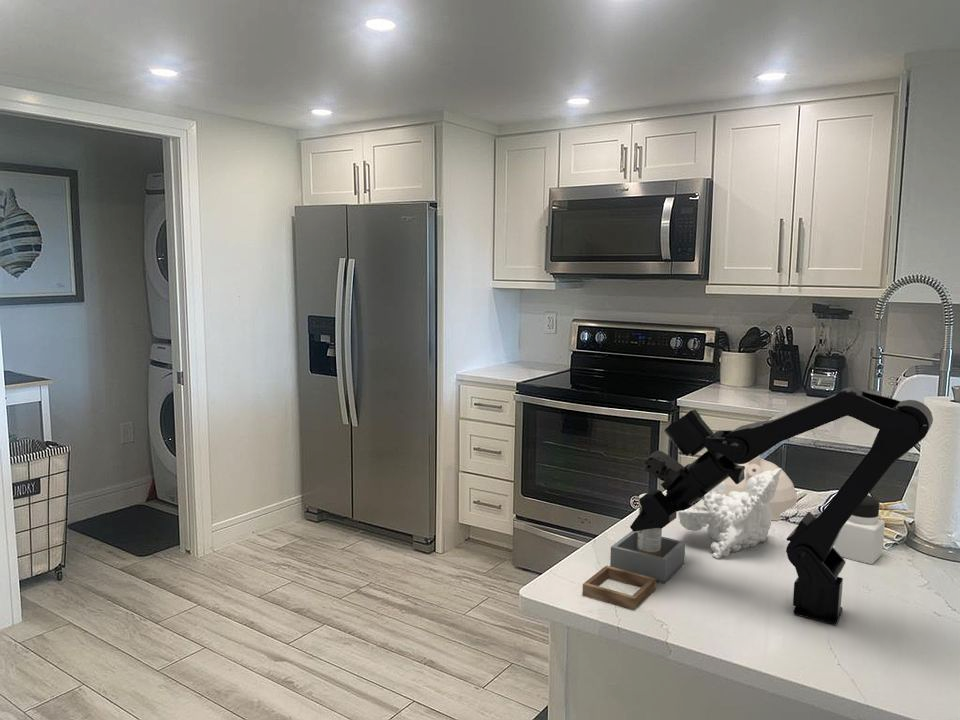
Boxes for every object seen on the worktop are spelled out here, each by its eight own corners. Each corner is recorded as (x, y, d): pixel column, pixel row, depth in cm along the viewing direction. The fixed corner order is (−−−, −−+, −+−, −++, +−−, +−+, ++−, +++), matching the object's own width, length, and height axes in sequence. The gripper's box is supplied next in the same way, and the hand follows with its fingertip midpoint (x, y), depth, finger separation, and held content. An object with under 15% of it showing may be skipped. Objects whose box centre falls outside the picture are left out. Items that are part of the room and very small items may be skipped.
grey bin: (684, 564, 139) (685, 541, 138) (664, 584, 130) (665, 560, 129) (632, 551, 144) (633, 530, 144) (610, 569, 136) (610, 546, 135)
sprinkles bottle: (638, 558, 140) (640, 491, 138) (662, 561, 138) (665, 493, 137) (634, 567, 136) (637, 498, 134) (659, 571, 134) (662, 501, 132)
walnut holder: (655, 589, 128) (656, 578, 128) (634, 610, 120) (634, 598, 120) (605, 575, 133) (606, 565, 133) (582, 594, 125) (582, 584, 125)
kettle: (704, 515, 166) (708, 438, 164) (709, 489, 186) (713, 420, 183) (800, 527, 159) (805, 447, 157) (795, 499, 178) (800, 427, 176)
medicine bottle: (882, 554, 144) (887, 496, 142) (872, 565, 139) (877, 505, 137) (844, 545, 149) (848, 488, 147) (832, 555, 143) (837, 496, 142)
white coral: (789, 489, 156) (779, 459, 140) (782, 583, 149) (770, 562, 133) (700, 480, 165) (681, 451, 150) (690, 568, 158) (668, 547, 142)
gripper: (691, 430, 139) (636, 476, 147) (652, 450, 124) (592, 499, 132) (730, 477, 135) (671, 521, 143) (694, 503, 120) (631, 551, 128)
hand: (642, 522), depth 137 cm, fingers open, 9 cm apart
